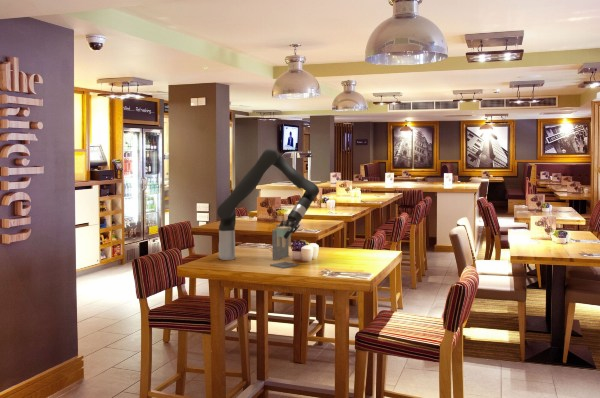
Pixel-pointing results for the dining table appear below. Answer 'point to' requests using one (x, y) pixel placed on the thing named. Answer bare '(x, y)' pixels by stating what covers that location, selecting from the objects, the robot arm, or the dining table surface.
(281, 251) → the hip flask
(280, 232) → the stool
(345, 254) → the dining table surface
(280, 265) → the slate mat
